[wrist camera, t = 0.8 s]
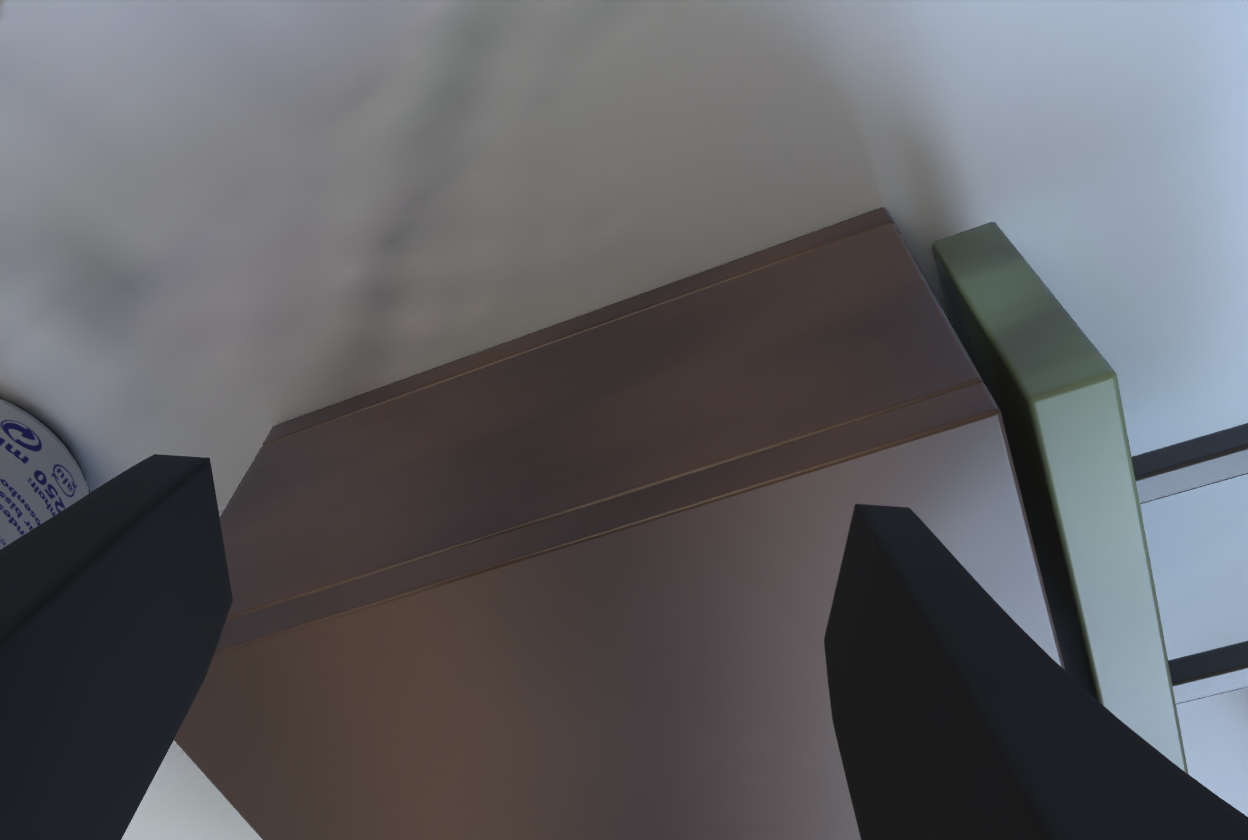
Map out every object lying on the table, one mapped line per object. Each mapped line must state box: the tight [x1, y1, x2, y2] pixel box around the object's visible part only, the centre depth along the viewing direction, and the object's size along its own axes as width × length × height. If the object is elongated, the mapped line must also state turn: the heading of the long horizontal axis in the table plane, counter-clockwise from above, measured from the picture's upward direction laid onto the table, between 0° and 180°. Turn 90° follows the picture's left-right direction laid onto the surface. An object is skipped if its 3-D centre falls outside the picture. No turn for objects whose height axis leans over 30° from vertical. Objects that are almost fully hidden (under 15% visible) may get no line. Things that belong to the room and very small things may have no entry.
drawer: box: [932, 222, 1248, 774], centre depth 20 cm, size 17×12×6 cm
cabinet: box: [174, 208, 1065, 840], centre depth 21 cm, size 14×14×8 cm
